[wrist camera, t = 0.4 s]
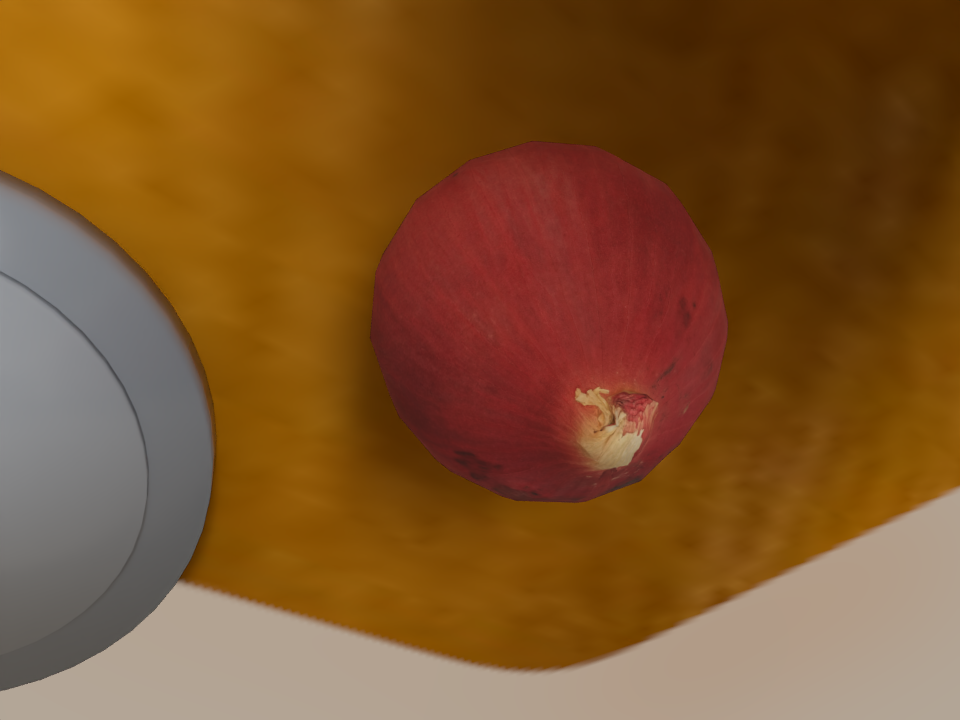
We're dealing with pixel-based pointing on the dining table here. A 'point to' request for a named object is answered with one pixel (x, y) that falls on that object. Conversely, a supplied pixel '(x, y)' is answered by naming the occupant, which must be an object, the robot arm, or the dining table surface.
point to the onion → (549, 322)
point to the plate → (89, 439)
